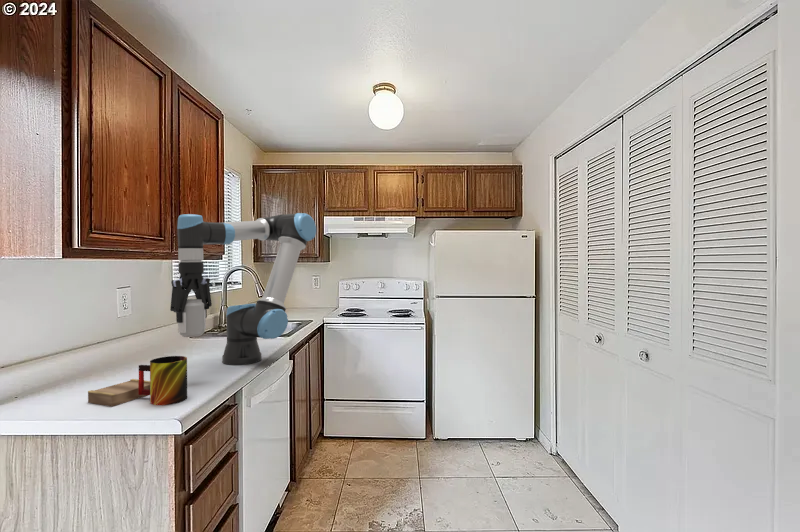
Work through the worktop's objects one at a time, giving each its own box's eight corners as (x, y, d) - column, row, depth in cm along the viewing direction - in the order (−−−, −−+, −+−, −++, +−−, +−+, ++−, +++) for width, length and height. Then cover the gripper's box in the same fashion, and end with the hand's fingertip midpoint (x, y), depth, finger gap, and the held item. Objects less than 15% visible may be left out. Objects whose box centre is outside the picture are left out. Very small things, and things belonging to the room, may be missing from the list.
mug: (139, 397, 131) (139, 357, 131) (189, 393, 135) (189, 355, 135) (129, 408, 122) (129, 365, 122) (183, 403, 126) (183, 362, 126)
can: (194, 338, 141) (194, 300, 140) (174, 337, 142) (173, 300, 142) (209, 333, 148) (208, 298, 148) (189, 333, 150) (189, 298, 149)
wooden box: (133, 389, 140) (133, 378, 140) (156, 392, 136) (155, 382, 136) (88, 402, 127) (87, 391, 126) (112, 406, 123) (111, 395, 123)
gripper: (206, 261, 155) (207, 325, 156) (155, 262, 136) (157, 335, 137) (222, 261, 153) (223, 326, 153) (173, 262, 134) (174, 336, 134)
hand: (192, 330), depth 145 cm, fingers closed on can, 7 cm apart
